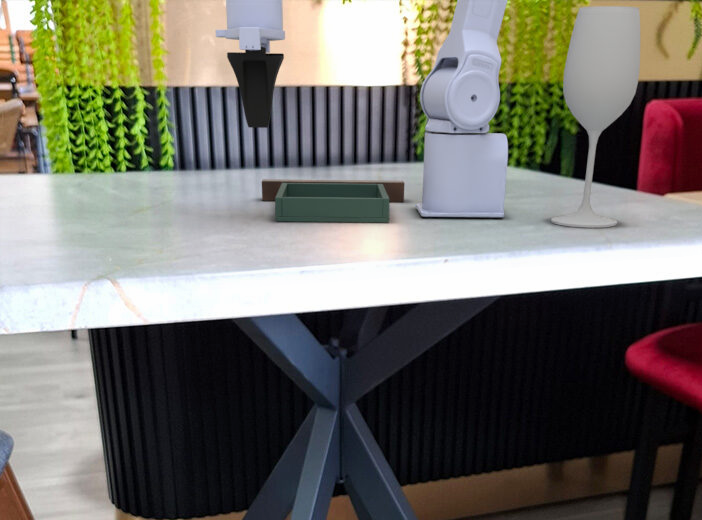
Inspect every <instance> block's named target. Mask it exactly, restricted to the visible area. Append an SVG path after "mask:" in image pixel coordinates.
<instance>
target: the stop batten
mask: <svg viewBox="0 0 702 520" xmlns="http://www.w3.org/2000/svg"><path fill="white" fill-rule="evenodd" d="M282 183H344V184H383V186H384V188H385V190H386V193H387V195H388V197H389V203H404V202H405V181H404V180H388V179H387V180H386V179H385V180H384V179H383V180H382V179H380V180H379V179H377V180H374V179H371V180H370V179H290V178H289V179H279V178H278V179H275V178H274V179H273V178H266V179H265V178H263V179H262V180H261V200H262V202H275V197H276V195H277V193H278V191H279V189H280V186H281V184H282Z"/></svg>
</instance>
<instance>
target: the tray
mask: <svg viewBox="0 0 702 520" xmlns="http://www.w3.org/2000/svg"><path fill="white" fill-rule="evenodd" d="M274 206H275V212H274V213H275V222H287V223H288V222H291V223H292V222H293V223H295V222H297V223H298V222H299V223H301V222H302V223H303V222H304V223H386V224H387V223H389V222H390V202H389V197H388V195H387V193H386V190H385V188H384V186H383V184H344V183H282V184H281V186H280V189H279V191H278V193H277V195H276V197H275V201H274Z"/></svg>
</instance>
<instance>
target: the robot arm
mask: <svg viewBox="0 0 702 520" xmlns="http://www.w3.org/2000/svg"><path fill="white" fill-rule="evenodd" d="M507 3H508V0H457V2H456V5H455V8H454V12H453V17H452V20H451V21H452V22H451V25H450V30H449V33H448V34H447V36H446V38H445V40H444V42H442V44H441V46H440V48H439V49H438V52H437V55H436V60H435V63H434V65H433V68H432V69H431V71H429V73H428V74H427V76H426V77H425V79H424V80H423V82H422V85H421V88H420V92H419V102H420V106H421V110H422V112H423V113H424V115H425V116H426V118H427V119H428V121H427V123H426V124H425V127H424V130H425V132H424V144H423V145H424V147H423V171H422V173H423V175H422V195H421V196H422V197H421V203H416V204H415V208H416V210H417V211H418V213H419V215H420V217H424V218H504V217H505V199H506V188H507V187H506V186H507V174H508V161H509V143H508V137H507V134H505V133H497V132H496V133H495V132H490V124H489V122H490V121H492V119H493V118H494V116H495V115H496V113H497V111H498V109H499V106H500V101H501V91H500V84H499V83H500V82H499V74H500V69H501V66H502V57H501V54H500V53H501V52H500V50H499V47H498V38H499V35H500V30H501V27H502V22H503V18H504V15H505V11H506V7H507ZM283 10H284V9H283V0H225V12H226V13H225V14H226V29H215V37H216V38H223V39H224V38H225V39H226V40H233V41H234V40H235V41H238V45H239V47H238V49H239V50H240V51H244V52H239V51H238V52H232V51H231V52H226V57H227V60H228V62H229V65H230V66H231V68H232V71H233V73H234V76H235V79H236V81H237V85H238V88H239V92H240V97H241V101H242V108H243V112H244V116H245V121H246V124H247V127H248V128H253V129H254V128H259V129H267V128H269V126H270V121H271V116H272V108H273V107H272V106H273V99H274V92H275V85H276V82H277V78H278V74H279V72H280V68H281V66H282V64H283V61H284V59H285V54H284V53H278V52H277V53H274V52H271V42H275V41H284V40H286V30H284V17H283V15H284V12H283Z"/></svg>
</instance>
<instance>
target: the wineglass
mask: <svg viewBox="0 0 702 520" xmlns="http://www.w3.org/2000/svg"><path fill="white" fill-rule="evenodd" d="M572 29H573V30H572V33H571V37H570V41H569V46H568V50H567V54H566V55H567V56H566V60H565V65H564V70H563V82H562V85H563V86H562V90H563V91H562V92H563V97H564V101H565V104H566V106H567V107H568V109H569V111H570V113H571V114H572V116H573V117H574V118H575V119H576V120H577V122H579V124H580V125H581V126H582V127H583V128H584V129H585V130H586V133H587V135H588V153H587V161H586V162H587V163H586V169H585V170H586V171H585V172H586V173H585V178H584V179H585V180H584V187H583V188H584V189H583V196H582V200H581V204H580V206H578V209H577V210H576V211H574V212H572V213H569V214H564V215H559V216H554V217H551V218H550V222H551V223H552V224H555V225H559V226H565V227H572V228H588V229H589V228H591V229H592V228H593V229H594V228H596V229H597V228H600V229H601V228H610V227H615V226H617V225H618V220H615V219H613V218H608V217H605V216H602V215H599V214H597V213H595V212H594V211H593V208H592V205H591V193H592V185H593V175H594V166H595V159H596V150H597V144H598V142H599V137H600V136H601V134H602V132H603V131H604V130H606V129H607V128H608V127H609V126H610V125H611V124H613V123H614V122H616V120H618V118H620V116H622V115H623V113H624V112H625V111H626V110H627V109H628V108H629V106H630V105H631V104H632V101H633V100H634V97H635V96H636V93H637V88H638V84H639V78H640V70H641V68H640V66H641V15H640V7H635V6H620V5H619V6H613V5H612V6H610V5H607V6H606V5H603V6H583V7H579V8H578V12H577V14H576V17H575V21H574V26H573V28H572Z"/></svg>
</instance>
